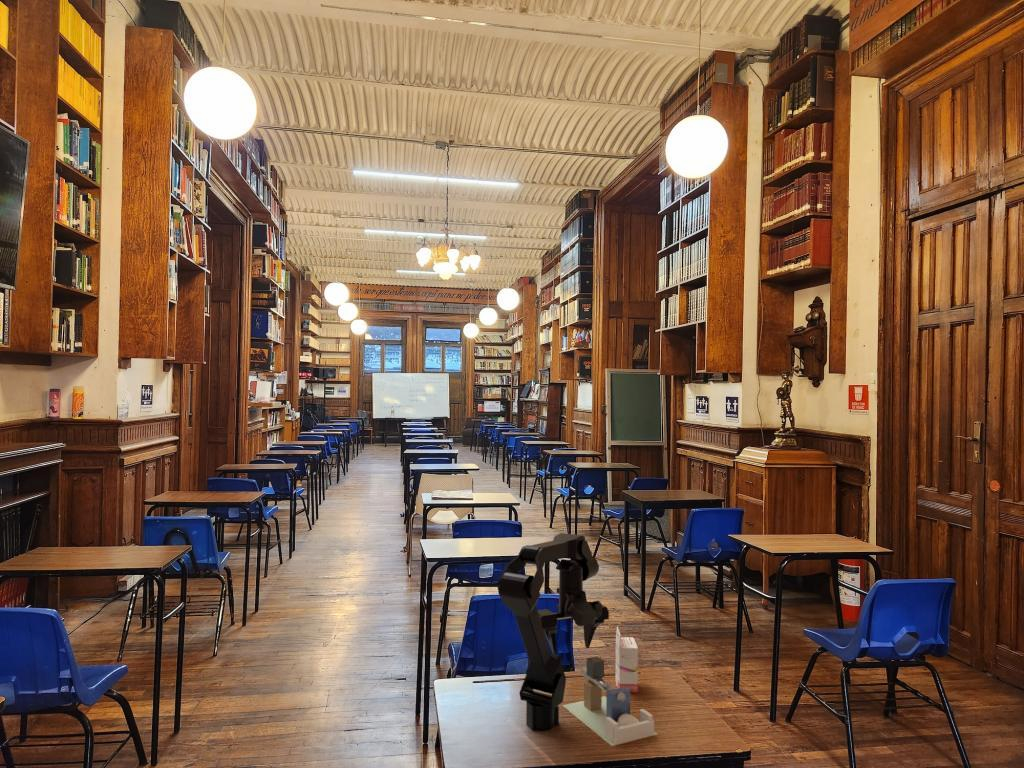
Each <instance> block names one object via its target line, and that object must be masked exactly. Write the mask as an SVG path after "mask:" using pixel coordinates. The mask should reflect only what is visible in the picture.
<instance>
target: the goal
mask: <svg viewBox="0 0 1024 768" xmlns="http://www.w3.org/2000/svg"><path fill="white" fill-rule="evenodd" d="M638 714H639V719H638V720H639V722H637V723H633V724H629V725H625V726H621V727H618V723H617V722H615V721H614V720H613V719H612V718H610V717H606V718H605V737H607V738H608V739H609V740H610V741H612V742H613V743H614V744H615V745H614V746H618V745H622V744H626V743H629V741H630V742H634V741H637V739H638V740H641V738H642V739H645V737H646V738H650V737H653V735H654V732H655V720H654V715H653V714H652V713H650V712H648V711H647V710H646V709H644V708H641V709H639V713H638ZM649 736H650V737H649ZM654 736H655V735H654ZM633 740H634V741H633ZM625 742H626V743H625ZM621 743H622V744H621ZM617 744H618V745H617Z"/></svg>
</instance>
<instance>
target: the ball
mask: <svg viewBox="0 0 1024 768" xmlns="http://www.w3.org/2000/svg"><path fill="white" fill-rule="evenodd" d="M632 716H633V715H632ZM632 716H631V714H630V715H629V714H622V715H621V716H620V717H619V718H618V721H617V723H618V727H621V726H625V725H629V724H633V723H636V722H635V719H634V718H633V717H634V716H633V717H632Z"/></svg>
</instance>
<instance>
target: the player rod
mask: <svg viewBox="0 0 1024 768" xmlns="http://www.w3.org/2000/svg"><path fill="white" fill-rule="evenodd" d="M580 674H581V676H582V677H583V678H585V679H586V680H587V681H591V682H592V683H594V684H595V685H596V686H598V687H599V688H601V689H602V691H604V692H605V693H606V696H605V697H606V717H610V718H612V719H613V720H614V721H615V722H617V721H618V718H619V717H620V716H621V715H622V714H629V715H631V692H630V690H629V689H627V688H626V687H622V688H617V687H615V686H614V685H612V684H611V683H609V682H608V681H607V680H605V679H603V678H605V660H604V659H602V658H600V657H599V656H593V657H592V656H591V657H587V658H586V667H582V668H581V670H580Z"/></svg>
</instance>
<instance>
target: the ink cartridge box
mask: <svg viewBox="0 0 1024 768" xmlns="http://www.w3.org/2000/svg"><path fill="white" fill-rule="evenodd" d="M615 632H616V633H615V671H614V672H615V679H614V680H615V684H616V688H617V689H618V688H622V687H626V688H627V689H629V690H630V693H631V692H633V693H636V692H639V647H638V645H637V644H638V643H636V640H635V638H634V637H626V636H625V637H624V636H623V637H622V634H621V632H620V629H619V626H618V625H617V626H616V630H615Z"/></svg>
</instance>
